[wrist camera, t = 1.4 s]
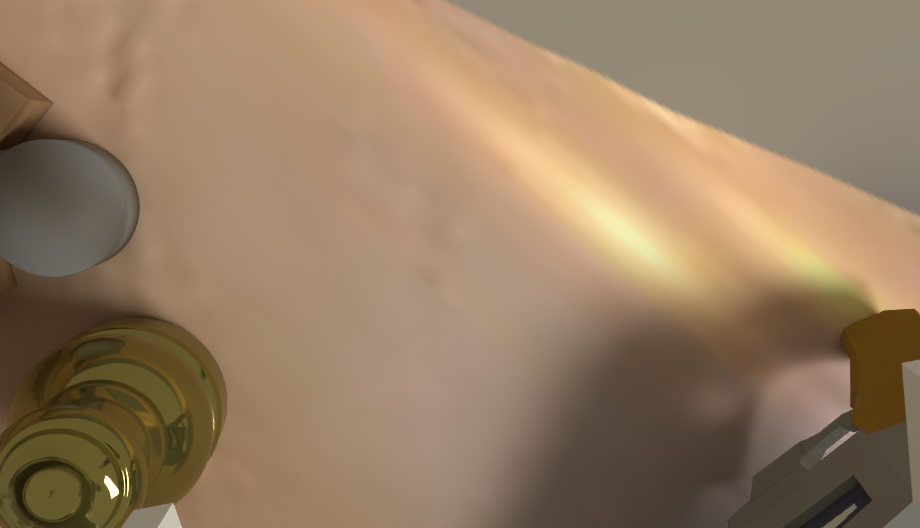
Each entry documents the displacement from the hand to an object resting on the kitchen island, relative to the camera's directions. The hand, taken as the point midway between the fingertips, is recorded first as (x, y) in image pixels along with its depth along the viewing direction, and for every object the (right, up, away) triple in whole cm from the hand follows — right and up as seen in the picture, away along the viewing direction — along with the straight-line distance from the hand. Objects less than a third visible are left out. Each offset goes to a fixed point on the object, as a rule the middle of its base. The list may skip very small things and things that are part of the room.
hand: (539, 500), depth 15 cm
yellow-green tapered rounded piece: (-15, -2, +21) cm, 26 cm away
